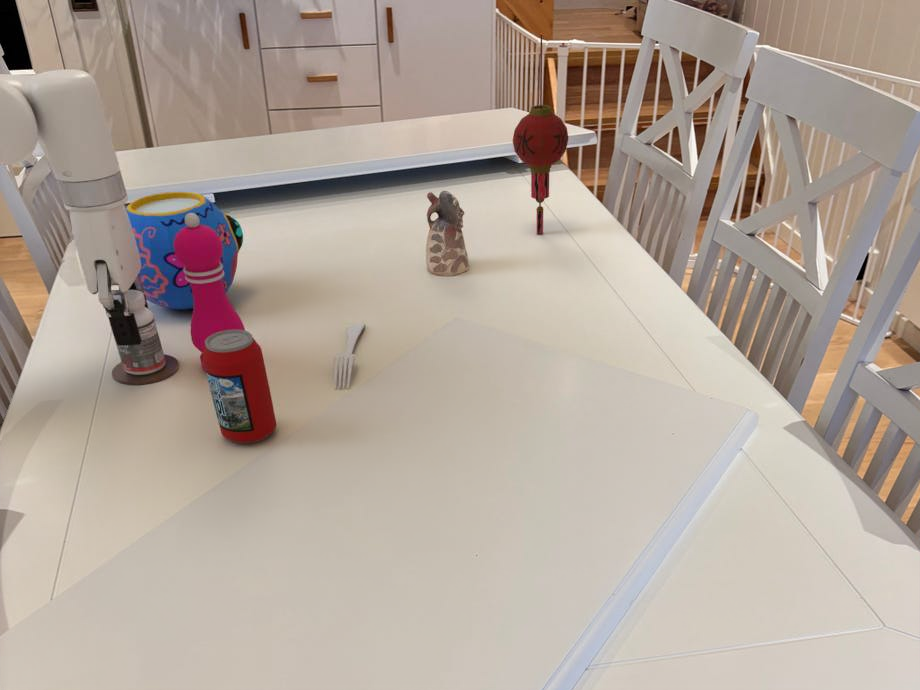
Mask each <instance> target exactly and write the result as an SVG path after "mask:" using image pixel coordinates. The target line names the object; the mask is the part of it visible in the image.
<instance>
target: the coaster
mask: <svg viewBox="0 0 920 690" xmlns="http://www.w3.org/2000/svg"><path fill="white" fill-rule="evenodd" d="M164 357H165V365H164V367H163V368H162V369H160V370H159V371H157V372H154V373H151V374H146V375H133V374H129V373H127V372H126V371H125V370H124V368H123V365H122V362H121V361H120V362H119V363H118V364H115V366H114V367H113V369H112V370H111V377H112V379H113V380H114V381H116V382H117V383H119V384H123V385H129V386H140V385H149V384H153V383H158V382H160V381H163V380H166V379H168V378H170V377H171V376H173V375H174V374H175V373H177V372H178V371H179V368H180V362H179V360H178V359H177V358H176V357H174V356H173V355H170V354H165V353H164Z"/></svg>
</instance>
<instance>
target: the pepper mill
mask: <svg viewBox="0 0 920 690" xmlns="http://www.w3.org/2000/svg"><path fill="white" fill-rule="evenodd" d="M199 222H200V221H199V217H198V216H197V215H196V214H194V213H188V214H187V215H186V216H185V223H186V225H187V226H186V227H184V228H183V229H181V230H180V231H179V232H178V233H177V234H176V236H175V239H174V251H175V255H176V257H177V259H178V260H179V261H180V262H181V263H182V264H183V265H185V267H184V269H183V271H184V273H185V279H186V280H187V281H188V282H190V285H191V288H192V293H193V299H194V308H193V311H192V315H191V320H190V321H191V322H190V339H191V342H192V344H193V346H194V347H195V348H196V349H197V350H198V351H200V352H201V354H200V355H199V360H200V364H201V368H202V371H204V372H205V373H206V371H205V366H204V362H203V358H202V356H203V352H204V349H205V345H206V344H205V341H206V339H207V338H208V337H209V336H211V335H212V334H215V333H217V332H221V331H225V330H244V331H246V328H245V325H244V323H243V321H242V319H241V316H240V315H239V313H237V310H235V308H234V306H233V305H232V303H231V301H230V300H229V297H228V296H227V292H226V293H225V290H224V287H223V281H222V277H223V276H224V271H223V269H222V268H223V265H222V263H220V262H219V260H220V258H221V256H222V254H223V246H222V242H221V240H220V237H219V236H218V234H217V233H216V232H215V231H214V230H213V229H211V228H210V227H208V226H204V225H199Z"/></svg>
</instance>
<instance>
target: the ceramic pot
mask: <svg viewBox="0 0 920 690" xmlns="http://www.w3.org/2000/svg"><path fill="white" fill-rule="evenodd" d="M125 208H126V211H127V214H128V217H129V220H130V223H131V226H132V230H133V233H134V236H135V240H136V243H137V247H138V251H139V255H140V259H141V270H140V272H139V274H140V276H139V278H140V280H141V283H142V285H143V289H144V293H143V294H145V297H146V301H147V302H149V303H151V304H154V305H156V306H158V307H163V308H167V309H170V310H192V309H194V299H193V293H192V288H191V285H190V282H188V281H187V280H186V279H185V273H184V271H183V269H184V267H185V265H183V264H182V263H181V262H180V261H179V260H178V259H177V257H176V255H175V251H174V239H175V236H176V234H177V233H178V232H179V231H180V230H181V229H183V228H184V227H186V226H187V225H186V223H185V216H186V215H187V214H188V213H194V214H196V215H197V216H198V217H199V221H200V222H199V225H204V226H208V227H210V228H211V229H213V230H214V231H215V232H216V233H217V234H218V236H219V237H220V240H221V242H222V246H223V254H222V256H221V258H220V260H219V262H220V263H222V265H223V268H222V269H223V271H224V276H223V277H222V281H223V287H224V290H225V293H226V294H227V292H228V291H229V289H230V288H231V286H232V284H233V282H234V279H235V277H236V272H237V267H238V256H239V252H240V250H241V248H242V246H243V242H244V234H243V233H244V232H243V229H242V227H241V224H240V223H239V221H238V220H237V219H235V218H234V217H233V216H231V215H228V214H226V213H224V212H223V211H222V210H221V209H220V208H219V207H218V205H216V204H215V203H214V202H212V201H211V200H210V199H208V198H207V197H205V196H204V195H202V194H199V193H196V192H192V191H191V192H190V191H167V192H161V193H155V194H154V193H153V194H149V195H147V196H143V197H139V198H137V199H135V200H133V201H132V202H130V203H129V204H128V205H127V206H125Z"/></svg>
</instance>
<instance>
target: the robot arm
mask: <svg viewBox="0 0 920 690" xmlns="http://www.w3.org/2000/svg"><path fill="white" fill-rule="evenodd" d="M105 113H106V112H105V109H104V105H103V101H102V98H101V94H100V90H99V88H98V85H97V82H96V80H95V79H94V77H93V76H92V75H91V74H90V73H88V72H87V71H85V70H82V69H75V68H74V69H72V68H70V69H69V68H68V69H65V68H64V69H54V70H49V71H44V72H43V71H42V72H40V73H37V74H8V73H7V74H5V73H0V165H1V166H13V165H18V164H21V163H23V162H25V161H26V160H28V159H29V158H30V157H31V156H32V155H33V153H34V151H35V150H36V147H37V144H38V141H40V142H42V143H43V144H44V146H45V150H46V153H47V156H48V159H49V162H50V165H51V168H52V169H51V170H52V172H53V175H54V178H55V181H56V184H57V187H58V190H59V193H60V194H59V195H60V197H61V200H62V204H63V206H64V209H65V210H67V211H68V212H69V219H70V224H71V230H72V235H73V240H74V244H75V247H76V248H75V249H76V252H77V256H78V260H79V263H80V266H81V271H82V274H83V277H84V281H85V284H86V288H87V291H88V292H89V294H91V295H97V294H98V302H99V303H100V305H102V307H103V308H104V310H105V314H106V317H107V318H108V321H110V322H109V325H111V326H110V329H111V328H112V329H111V332H112V331H113V332H112V335H113V334H114V335H113V338H114V337H115V339H114V342H115V341H116V342H115V345H116V344H117V345H119V346H124V345H139V344H140V343H141V341H142V340H141V337H140V333H139V330H138V326H137V323H136V319H135V316H134V313H130V307H129V302H128V296H127V290H138V291H141V292H142V293H144V289H143V285H142V283H141V280H140V278H139V276H140V274H139V272H140V270H141V259H140V255H139V251H138V247H137V243H136V240H135V236H134V233H133V230H132V226H131V223H130V220H129V217H128V214H127V211H126V206H125V204H126V203H127V202H128V200H129V196H128V193H127V190H126V186H125V182H124V179H123V175H122V171H121V167H120V164H119V160H118V157H117V154H116V153H117V152H116V149H115V146H114V141H113V138H112V135H111V131H110V127H109V122H108V120H107V117H106V114H105ZM112 286H118V289H112ZM113 295H120V296H121V302H122V304H121V303H120V302H119V300H118V299H117V300H115V299H114V297H113ZM143 295H144V298H145V307H146V308H148V309H149V310H150V308H149V305H148V300H146V297H145V294H143ZM117 345H116V346H117Z"/></svg>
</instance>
